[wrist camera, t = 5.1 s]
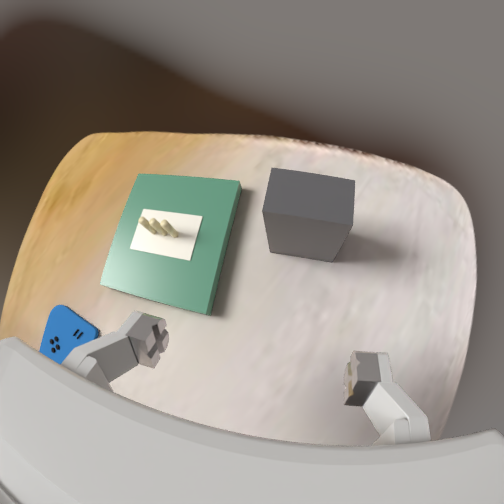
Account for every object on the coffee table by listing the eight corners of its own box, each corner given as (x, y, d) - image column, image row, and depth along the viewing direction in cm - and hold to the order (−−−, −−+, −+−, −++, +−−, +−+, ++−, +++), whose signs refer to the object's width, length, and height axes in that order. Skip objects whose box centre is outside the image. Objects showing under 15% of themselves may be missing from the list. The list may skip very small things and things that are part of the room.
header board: (210, 315, 24) (195, 310, 20) (107, 287, 26) (83, 277, 22) (241, 188, 28) (234, 164, 24) (144, 180, 30) (127, 160, 26)
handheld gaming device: (95, 329, 24) (67, 435, 21) (101, 330, 25) (73, 434, 22) (52, 297, 26) (28, 396, 22) (58, 299, 27) (34, 396, 23)
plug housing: (332, 262, 24) (352, 225, 16) (269, 252, 25) (262, 211, 17) (336, 228, 25) (355, 180, 17) (276, 218, 26) (271, 167, 18)
